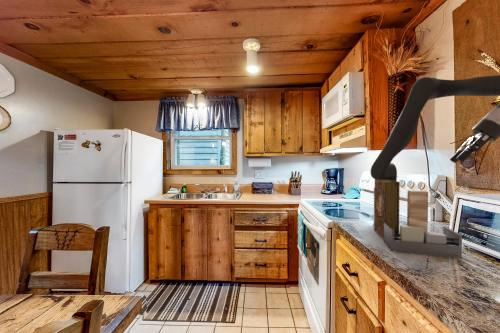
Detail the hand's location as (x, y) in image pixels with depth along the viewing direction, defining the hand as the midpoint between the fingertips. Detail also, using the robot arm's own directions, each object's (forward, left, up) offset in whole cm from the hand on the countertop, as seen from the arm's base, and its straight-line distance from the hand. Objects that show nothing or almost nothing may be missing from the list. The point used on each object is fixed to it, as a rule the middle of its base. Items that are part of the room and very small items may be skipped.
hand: (455, 160), depth 88 cm
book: (-18, -18, -34) cm, 43 cm away
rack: (-1, -10, -34) cm, 35 cm away
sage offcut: (+1, -14, -34) cm, 37 cm away
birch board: (-4, -10, -34) cm, 36 cm away
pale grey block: (+1, -6, -34) cm, 34 cm away
